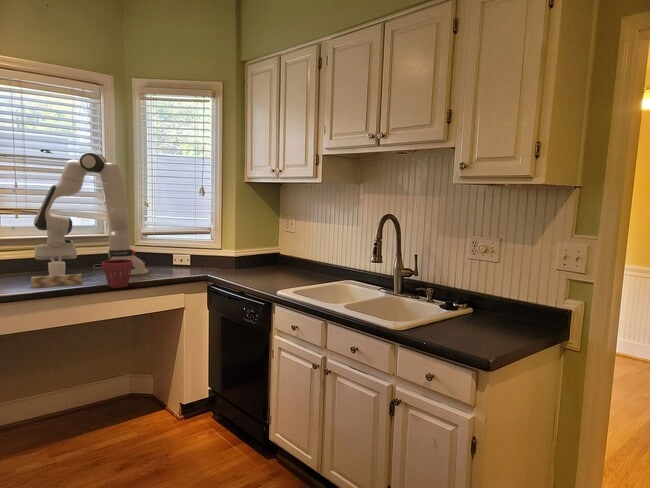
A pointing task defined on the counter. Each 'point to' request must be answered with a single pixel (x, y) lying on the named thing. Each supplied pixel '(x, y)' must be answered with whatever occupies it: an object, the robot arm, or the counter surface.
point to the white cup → (56, 268)
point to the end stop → (56, 280)
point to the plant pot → (117, 272)
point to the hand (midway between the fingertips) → (56, 264)
